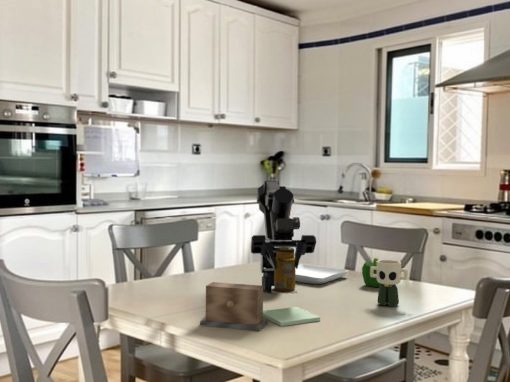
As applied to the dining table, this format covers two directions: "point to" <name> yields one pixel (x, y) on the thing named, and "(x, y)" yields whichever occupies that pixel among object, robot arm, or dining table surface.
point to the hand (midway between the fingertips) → (286, 268)
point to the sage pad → (290, 316)
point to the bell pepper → (366, 274)
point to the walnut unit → (234, 306)
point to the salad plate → (317, 274)
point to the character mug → (388, 280)
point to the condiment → (284, 271)
